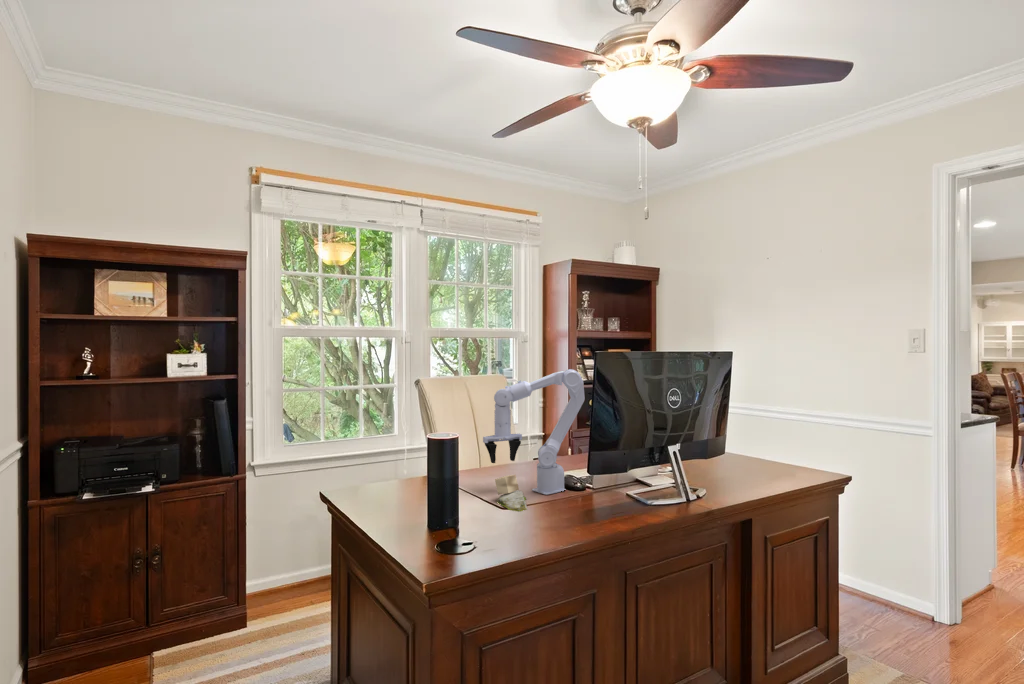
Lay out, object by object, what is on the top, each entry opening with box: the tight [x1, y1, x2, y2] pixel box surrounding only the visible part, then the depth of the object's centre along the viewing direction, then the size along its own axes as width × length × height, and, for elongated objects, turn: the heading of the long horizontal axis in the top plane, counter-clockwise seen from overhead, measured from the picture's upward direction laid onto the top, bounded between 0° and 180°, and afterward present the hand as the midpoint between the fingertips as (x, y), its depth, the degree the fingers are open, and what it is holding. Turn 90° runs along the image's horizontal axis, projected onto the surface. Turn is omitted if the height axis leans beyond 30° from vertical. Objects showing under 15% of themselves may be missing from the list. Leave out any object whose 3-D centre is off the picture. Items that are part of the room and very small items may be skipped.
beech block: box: [494, 474, 520, 495], centre depth 187 cm, size 5×5×5 cm
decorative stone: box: [496, 489, 528, 512], centre depth 186 cm, size 23×10×4 cm, turn 4°
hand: (502, 461), depth 199 cm, fingers open, 7 cm apart
